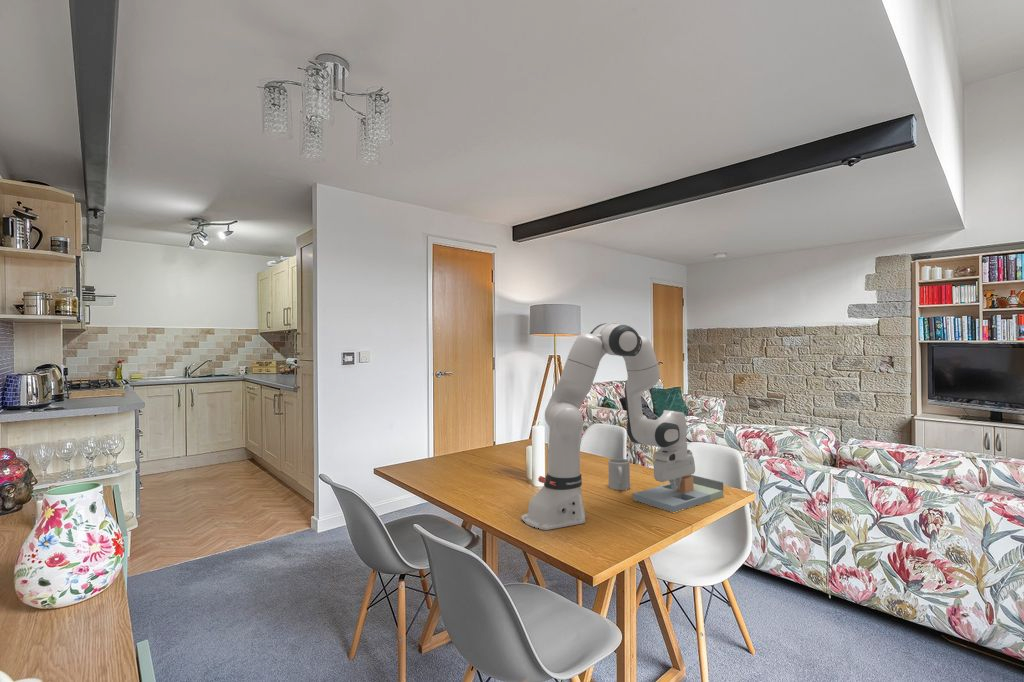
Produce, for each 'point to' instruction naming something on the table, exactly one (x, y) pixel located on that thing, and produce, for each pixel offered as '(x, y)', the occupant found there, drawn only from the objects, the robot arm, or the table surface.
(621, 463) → the mug
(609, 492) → the table surface
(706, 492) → the platform
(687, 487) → the block
